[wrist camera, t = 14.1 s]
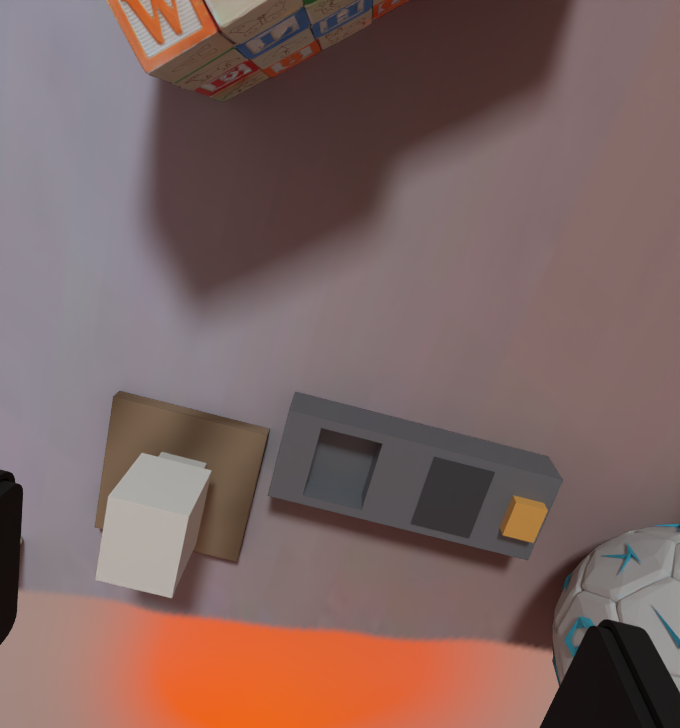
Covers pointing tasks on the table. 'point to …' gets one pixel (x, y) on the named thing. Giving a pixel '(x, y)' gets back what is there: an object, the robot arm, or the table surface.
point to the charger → (153, 523)
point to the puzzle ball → (624, 594)
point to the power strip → (413, 476)
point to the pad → (193, 441)
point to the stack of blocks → (236, 37)
